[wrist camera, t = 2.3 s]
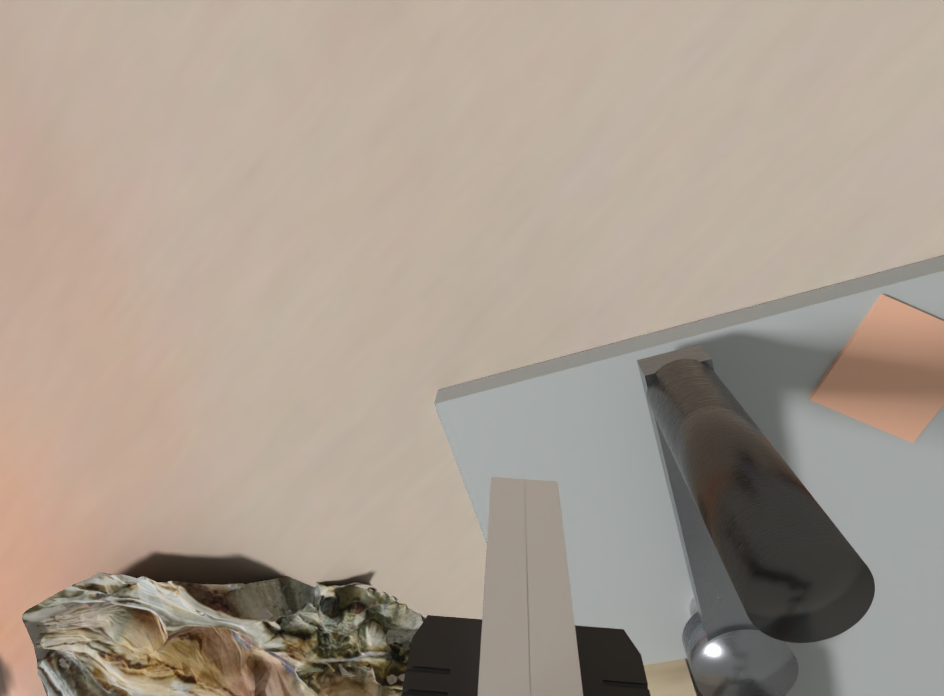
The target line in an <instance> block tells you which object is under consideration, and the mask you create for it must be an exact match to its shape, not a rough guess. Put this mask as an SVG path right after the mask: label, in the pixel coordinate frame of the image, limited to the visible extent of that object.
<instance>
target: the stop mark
mask: <svg viewBox="0 0 944 696" xmlns="http://www.w3.org/2000/svg"><path fill="white" fill-rule="evenodd" d="M808 399H809V400H811V401H813V402H816V403H818V404H820V405H823V406H825V407H827V408H830V409H832V410H835V411H837V412H839V413H842V414H844V415H847V416H849V417H851V418H854V419H856V420H859V421H861V422H863V423H866V424H868V425H871V426H873V427H875V428H878V429H880V430H882V431H885V432H887V433H890V434H892V435H894V436H897V437H899V438H902V439H904V440H906V441H909V442H911V443H913V442H914V441H915V440H916V439H917V438H918V436H919V435H920V434H921V433H922V431H923V430H924V429H925V428H926V426H927V425H928V424H929V423H930V421H931V420H932V419H933V418H934V416H935V415H936V414H937V413H938V411H939V410H940V409H941V408H942V407H943V405H944V321H942V320H940V319H938V318H936V317H933V316H931V315H929V314H926V313H924V312H922V311H920V310H917V309H915V308H913V307H910V306H908V305H906V304H904V303H901V302H899V301H897V300H895V299H892V298H890V297H888V296H885V295H883V294H881V295H880V296H879V298H878V299H877V301H876V302H875V304H874V305H873V306H872V308H871V309H870V311H869V312H868V313H867V315H866V316H865V318H864V319H863V321H862V322H861V323H860V325H859V326H858V328H857V329H856V331H855V332H854V333H853V335H852V336H851V338H850V339H849V341H848V342H847V343H846V345H845V346H844V348H843V349H842V350H841V352H840V353H839V355H838V356H837V358H836V359H835V360H834V362H833V363H832V365H831V366H830V368H829V369H828V370H827V372H826V373H825V375H824V376H823V378H822V379H821V380H820V382H819V383H818V385H817V386H816V387H815V389H814V390H813V392H812V393H811V395H810V396H809V397H808Z"/></svg>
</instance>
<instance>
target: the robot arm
mask: <svg viewBox="0 0 944 696" xmlns="http://www.w3.org/2000/svg"><path fill="white" fill-rule="evenodd" d="M401 696H651V695H650V691H649V689H648V682H647V678H646V674H645V670H644V665H643V661H642V657H641V654H640V653H639V651H638V650H637V648H636V647H635V645H634V644H633V642H632V641H631V639H630V638H629V636H628V635H627V634H626V632H625V631H624V629H614V628H602V627H589V626H577V625H575V622H574V614H573V605H572V597H571V589H570V580H569V572H568V563H567V555H566V547H565V538H564V530H563V521H562V513H561V505H560V496H559V488H558V481H543V480H529V479H514V478H500V477H491V486H490V502H489V518H488V535H487V551H486V567H485V584H484V600H483V616H482V620H480V619H467V618H455V617H442V616H430V615H428V616H427V617H426V619H425V620H424V622H423V623H422V625H421V626H420V627H419V629H418V630H417V632H416V633H415V634H414V636H413V637H412V641H411V646H410V652H409V657H408V662H407V669H406V672H405V678H404V683H403V688H402V694H401Z"/></svg>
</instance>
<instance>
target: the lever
mask: <svg viewBox="0 0 944 696" xmlns="http://www.w3.org/2000/svg"><path fill="white" fill-rule="evenodd" d="M637 363H638V367H639V371H640V376H641V380H642V384H643V388H644V392H645V396H646V400H647V404H648V409H649V413H650V417H651V421H652V425H653V429H654V433H655V437H656V442H657V446H658V450H659V454H660V458H661V462H662V466H663V470H664V475H665V479H666V483H667V487H668V491H669V495H670V499H671V503H672V508H673V512H674V516H675V520H676V524H677V528H678V532H679V537H680V541H681V545H682V549H683V553H684V557H685V561H686V565H687V570H688V574H689V578H690V582H691V586H692V590H693V594H694V598H695V603H696V607H697V612H696V613H695V614H694V615H693V616H692V617H691V618H690V619H689V620H688V622H687V623H686V625H685V627H684V630H683V634H682V642H683V646H684V649H685V652H686V656H687V659H688V662H689V665H690V668H691V671H692V674H693V678H694V681H695V684H696V686H697V688H698V690H699V691H700V693H701V694H702V695H703V696H786V694H787V693H788V692H789V691H790V689H791V688H792V687H793V685H794V684H795V682H796V680H797V677H798V671H799V668H798V662H797V659H796V657H795V655H794V653H793V651H792V649H791V647H790V645H789V644H788V642H791V643H811V642H818V641H822V640H826V639H829V638H832V637H835V636H837V635H839V634H841V633H843V632H845V631H847V630H848V629H850V628H851V627H853V626H854V625H855V624H856V623H858V622H859V621H860V620H861V619H862V618H863V616H864V615H865V614H866V613H867V611H868V610H869V608H870V606H871V604H872V601H873V598H874V593H875V583H874V578H873V575H872V573H871V571H870V569H869V568H868V566H867V565H866V564H865V562H864V561H863V560H862V559H861V557H860V556H859V555H858V554H857V552H856V551H855V550H854V548H853V547H852V546H851V545H850V543H849V542H848V541H847V540H846V538H845V537H844V536H843V534H842V533H841V532H840V531H839V529H838V528H837V527H836V526H835V524H834V523H833V522H832V520H831V519H830V518H829V517H828V515H827V514H826V513H825V512H824V510H823V509H822V508H821V506H820V505H819V504H818V503H817V501H816V500H815V499H814V498H813V496H812V495H811V494H810V492H809V491H808V490H807V489H806V487H805V486H804V485H803V484H802V482H801V481H800V480H799V478H798V477H797V476H796V475H795V473H794V472H793V471H792V470H791V468H790V467H789V466H788V464H787V463H786V462H785V461H784V459H783V458H782V457H781V456H780V454H779V453H778V452H777V450H776V449H775V448H774V447H773V445H772V444H771V443H770V442H769V440H768V439H767V438H766V436H765V435H764V434H763V433H762V431H761V430H760V429H759V428H758V426H757V425H756V424H755V422H754V421H753V420H752V419H751V417H750V416H749V415H748V414H747V412H746V411H745V410H744V408H743V407H742V406H741V405H740V403H739V402H738V401H737V400H736V398H735V397H734V396H733V394H732V393H731V392H730V391H729V389H728V388H727V387H726V386H725V384H724V383H723V382H722V380H721V379H720V378H719V377H718V375H717V374H716V373H715V372H714V367H713V362H712V358H711V357H710V356H709V355H708V354H707V352H706V351H705V350H704V349H703V347H702V346H701V345H700V344H698V345H694V346H690V347H686V348H682V349H678V350H674V351H671V352H667V353H663V354H659V355H655V356H651V357H647V358H644V359H640V360H637Z"/></svg>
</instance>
